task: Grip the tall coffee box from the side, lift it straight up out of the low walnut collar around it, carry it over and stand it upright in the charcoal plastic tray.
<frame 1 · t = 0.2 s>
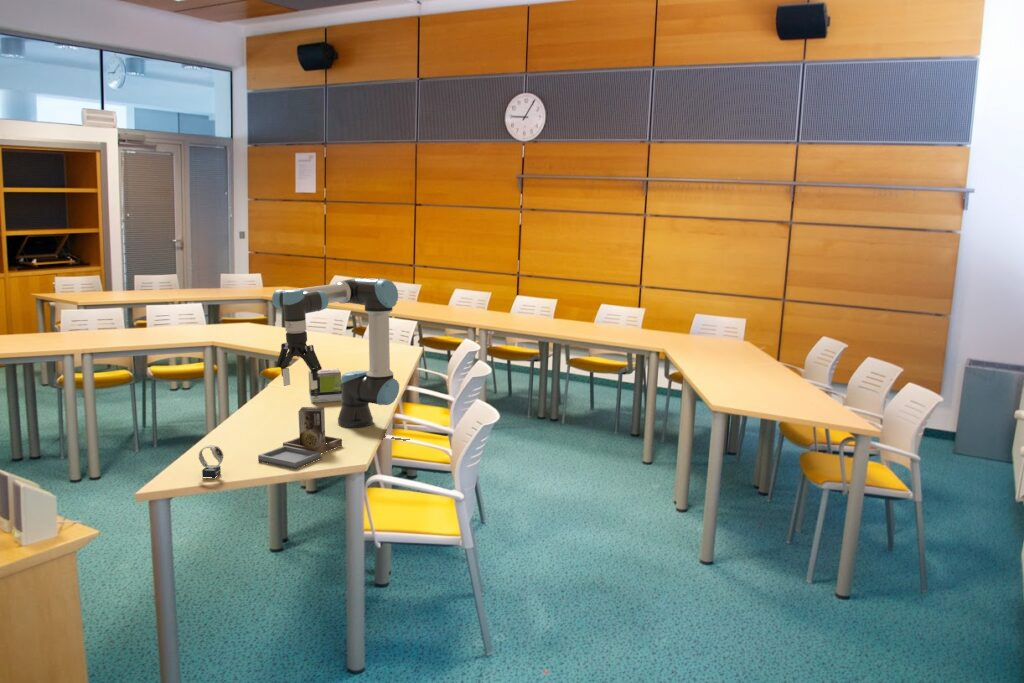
hand: (300, 387, 297), 27 cm above the table, tool pointing down, fingers open, 13 cm apart
tea box: (325, 400, 391), on the table
coffee box: (312, 448, 312), resting in collar
tray: (290, 460, 297), on the table
collar: (312, 448, 312), on the table
watch: (212, 476, 278), on the table
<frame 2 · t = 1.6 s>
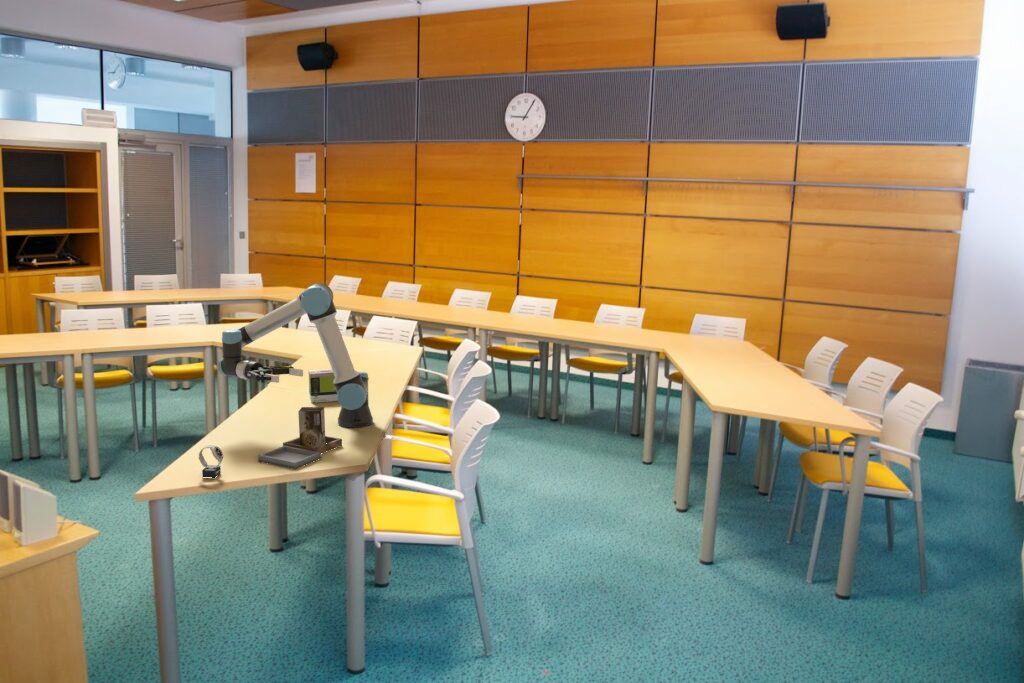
hand: (290, 376, 312), 28 cm above the table, tool horizontal, fingers open, 13 cm apart
nothing on the table moved.
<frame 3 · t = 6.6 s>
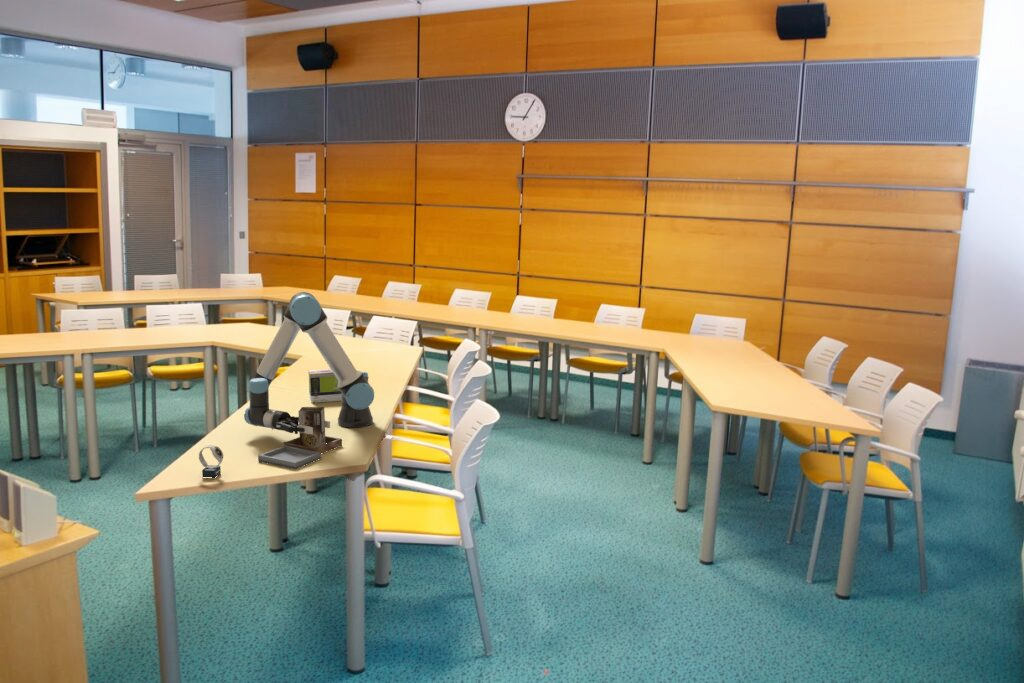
hand: (320, 427, 309), 9 cm above the table, tool horizontal, fingers closed on coffee box, 9 cm apart
coffee box: (312, 448, 312), resting in collar, touching gripper
everything else where it was.
when the fingers open (11 cm above the table, at t = 12.4 s): coffee box drops 1 cm, resting on tray.
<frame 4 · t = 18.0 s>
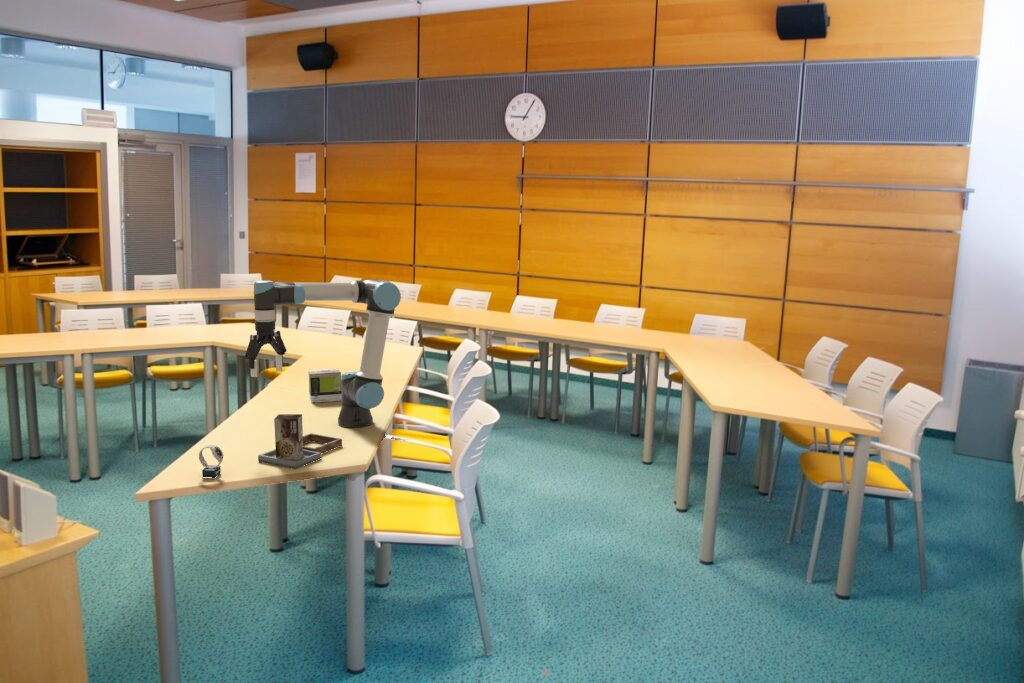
hand: (266, 373, 313), 29 cm above the table, tool pointing down, fingers open, 13 cm apart
coffee box: (289, 458, 297), point 1 cm above the table, touching tray
everything else where it was.
at the end: coffee box inside the target area on the tray (0.1 cm from its centre), point 0.8 cm above the tray's base; coffee box tilted 0°; the gripper is holding nothing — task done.
